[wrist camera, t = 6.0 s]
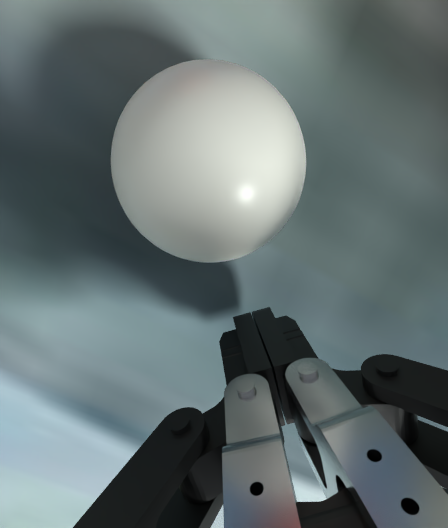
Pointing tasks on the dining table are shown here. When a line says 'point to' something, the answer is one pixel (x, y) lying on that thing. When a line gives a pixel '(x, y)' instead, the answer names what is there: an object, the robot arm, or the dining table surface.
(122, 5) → the dining table surface
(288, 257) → the dining table surface
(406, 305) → the dining table surface
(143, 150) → the cue ball
